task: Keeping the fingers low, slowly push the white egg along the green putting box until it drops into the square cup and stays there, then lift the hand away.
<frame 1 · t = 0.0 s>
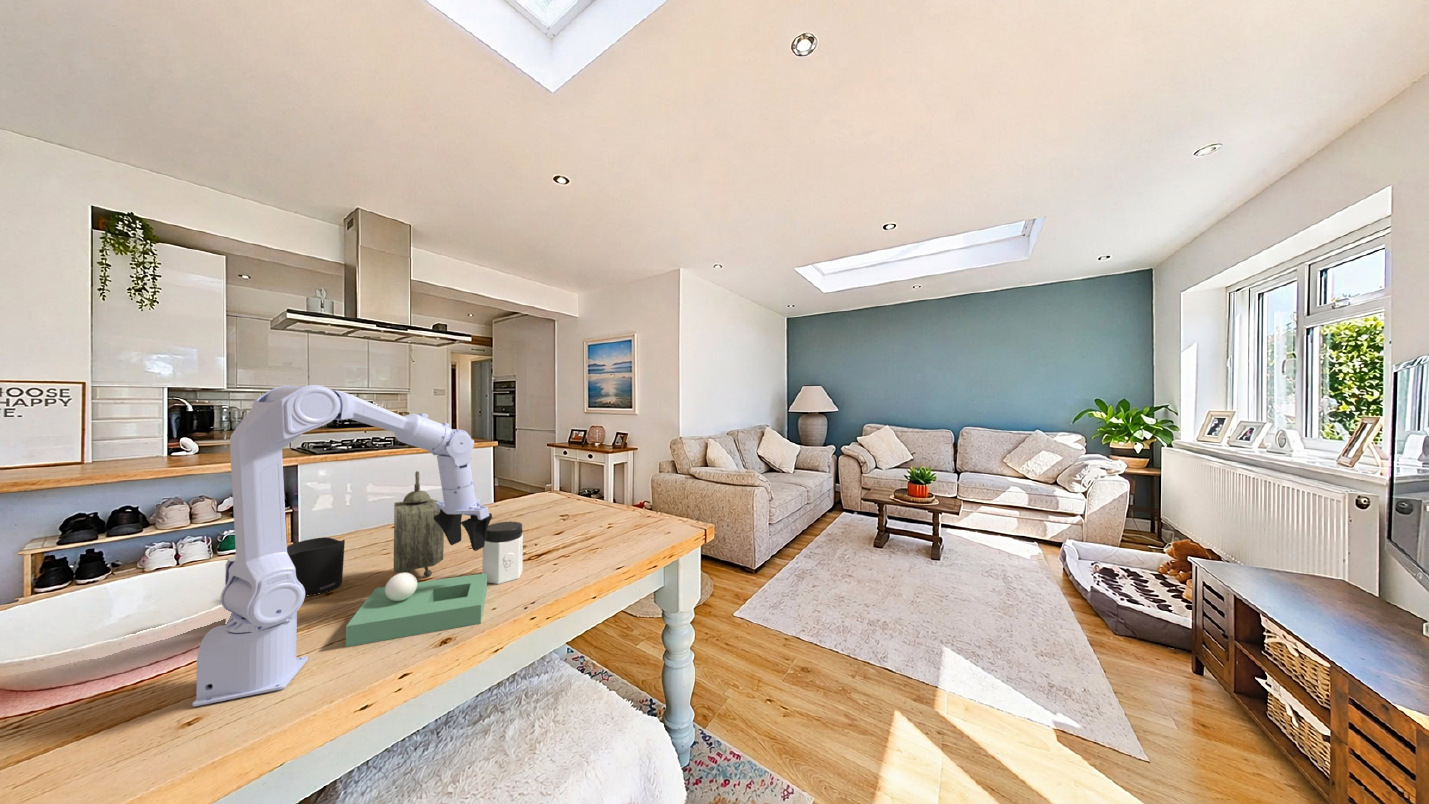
hand: (467, 545, 92), 11 cm above the table, tool pointing down, fingers open, 7 cm apart
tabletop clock: (417, 579, 100), on the table
putting box: (425, 614, 83), on the table
pen holder: (315, 590, 94), on the table
energy drink: (246, 621, 80), on the table
white egg: (401, 586, 82), point 6 cm above the table, touching putting box
jar: (502, 577, 102), on the table
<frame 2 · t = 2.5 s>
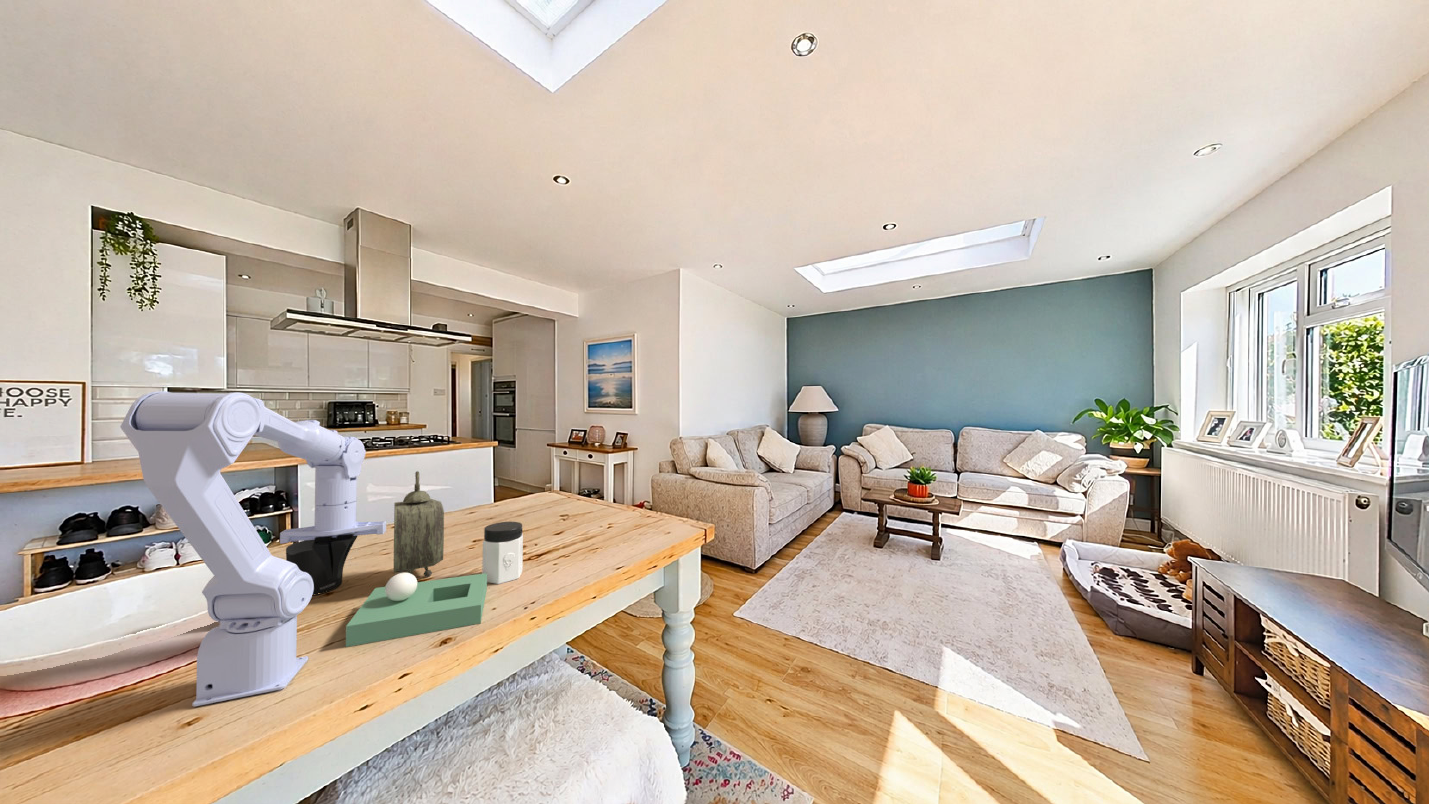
hand: (335, 577, 78), 9 cm above the table, tool pointing down, fingers closed
nothing on the table moved.
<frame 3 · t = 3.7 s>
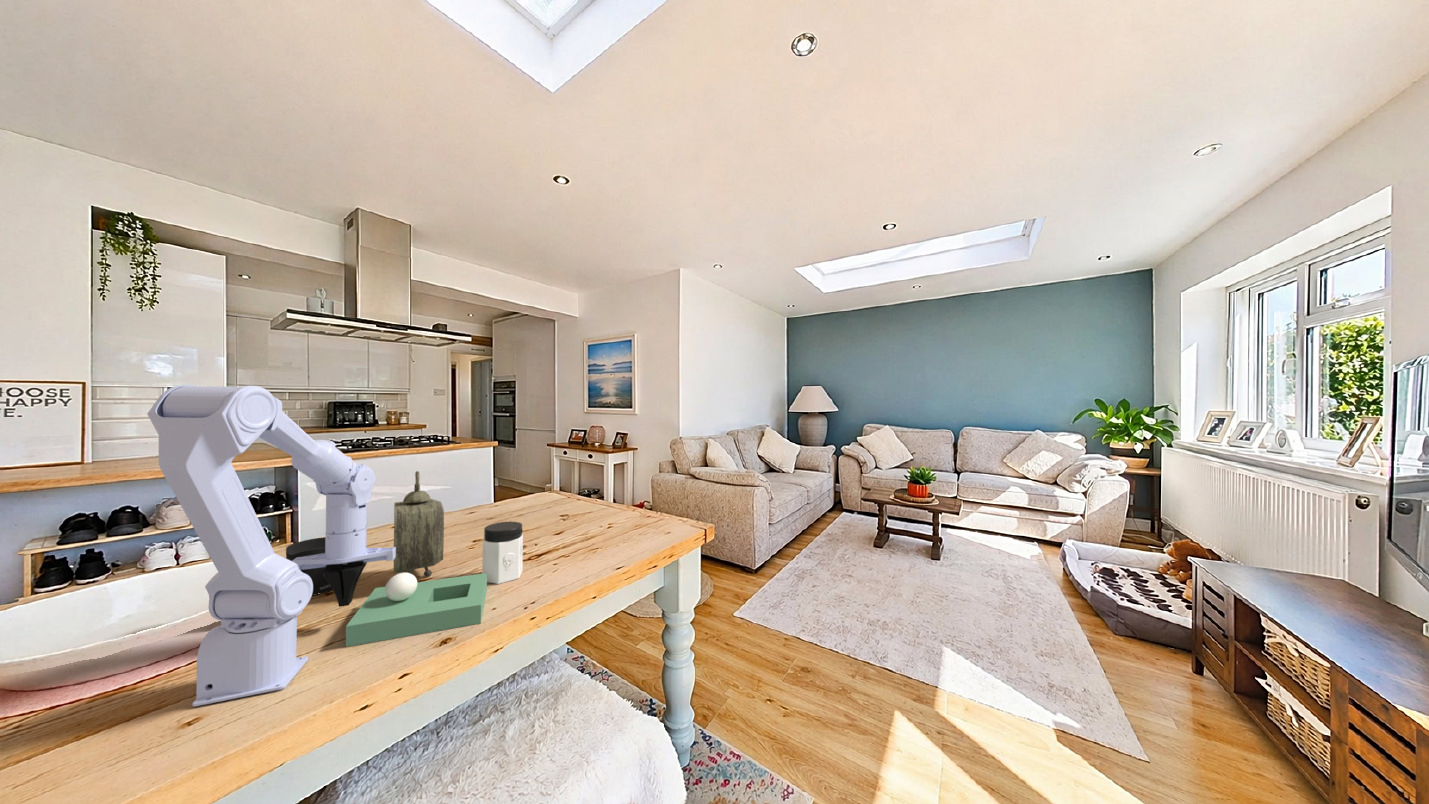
hand: (345, 604, 78), 4 cm above the table, tool pointing down, fingers closed
nothing on the table moved.
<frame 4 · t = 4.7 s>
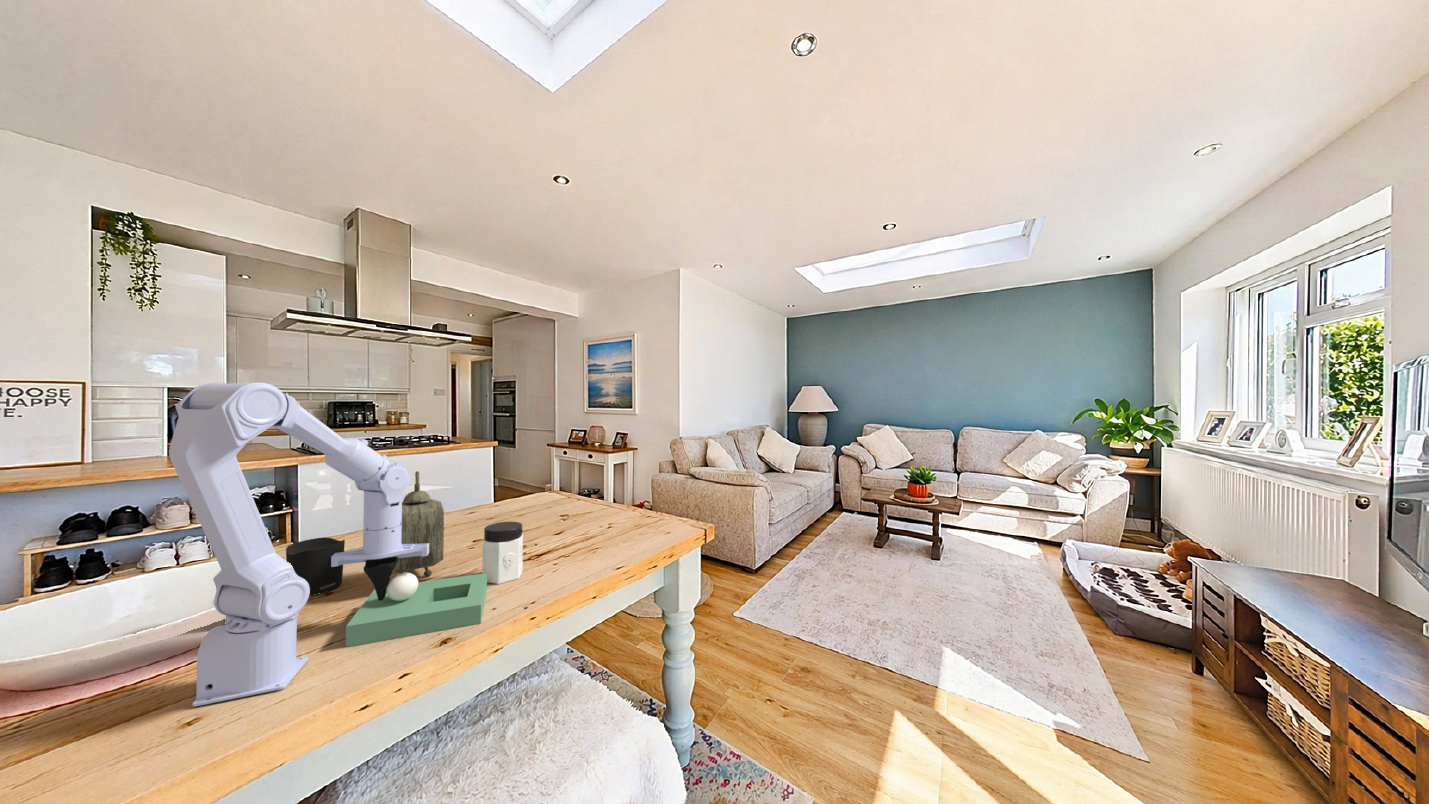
hand: (381, 598, 81), 4 cm above the table, tool pointing down, fingers closed, pressing on white egg
white egg: (402, 586, 82), point 6 cm above the table, touching gripper, putting box
everything else where it was.
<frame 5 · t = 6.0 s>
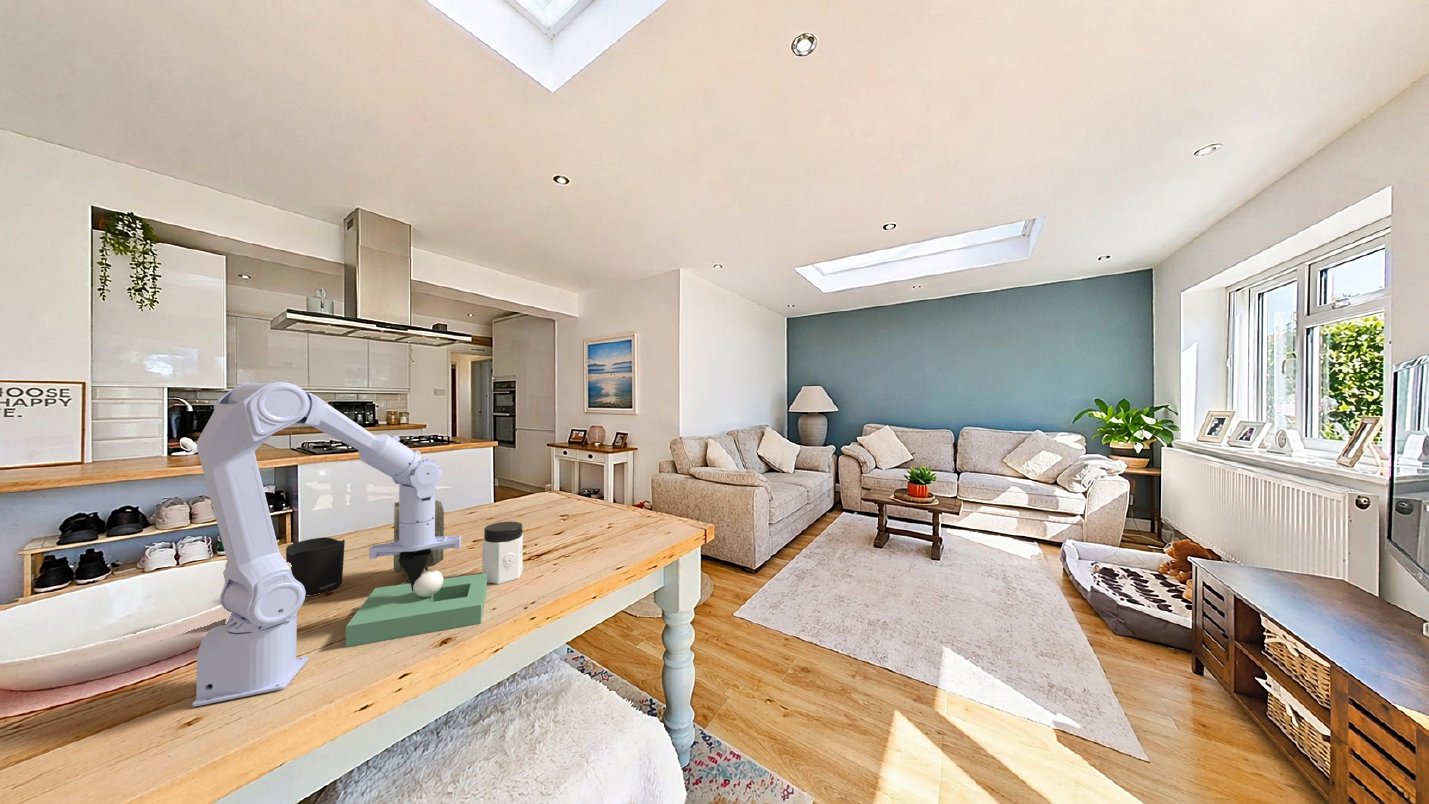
hand: (417, 588, 83), 5 cm above the table, tool pointing down, fingers closed, pressing on white egg
white egg: (428, 583, 84), point 6 cm above the table, tilted 100°, touching gripper, putting box
everything else where it was.
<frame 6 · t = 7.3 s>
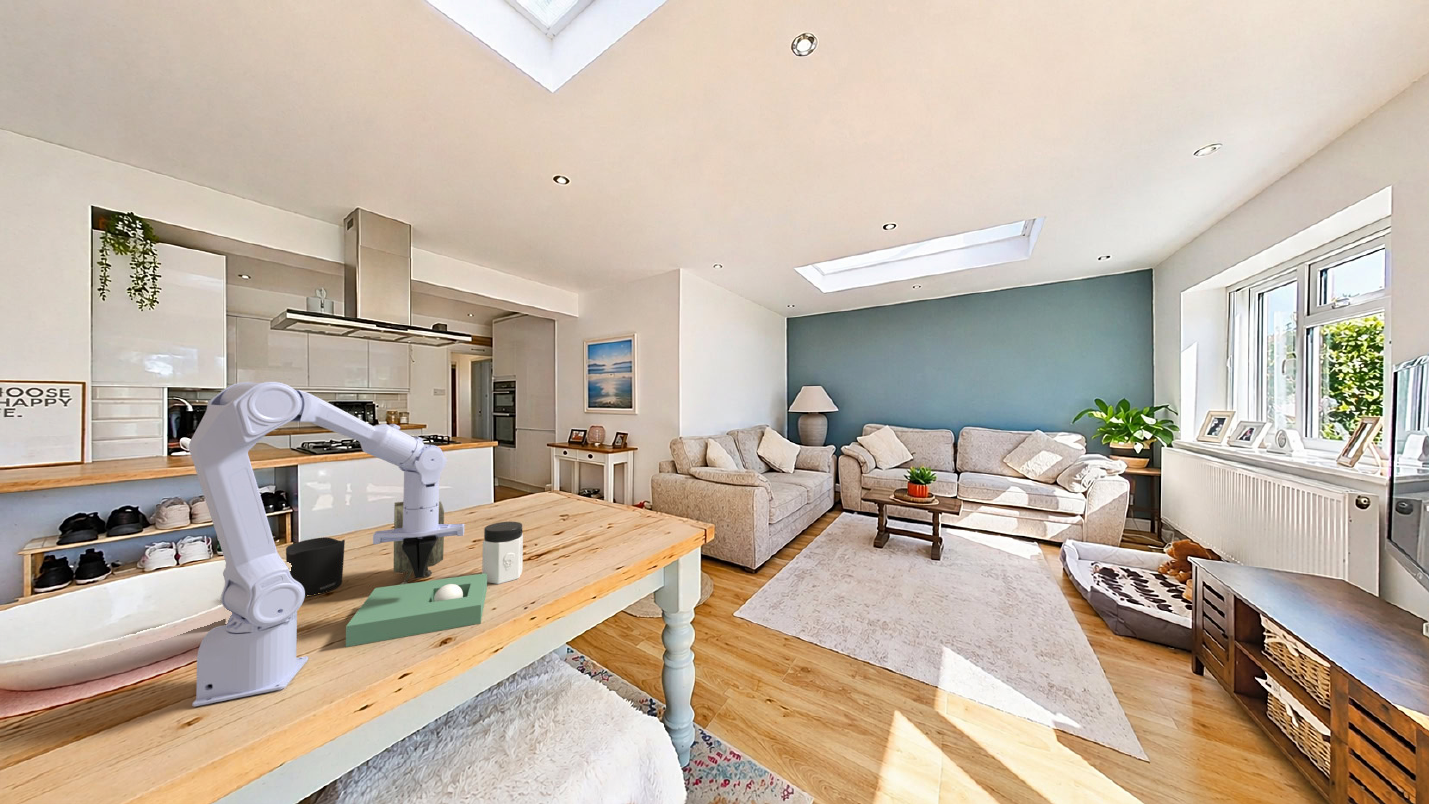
hand: (419, 576, 83), 8 cm above the table, tool pointing down, fingers closed
white egg: (448, 597, 85), point 3 cm above the table, tilted 165°, touching putting box
everything else where it was.
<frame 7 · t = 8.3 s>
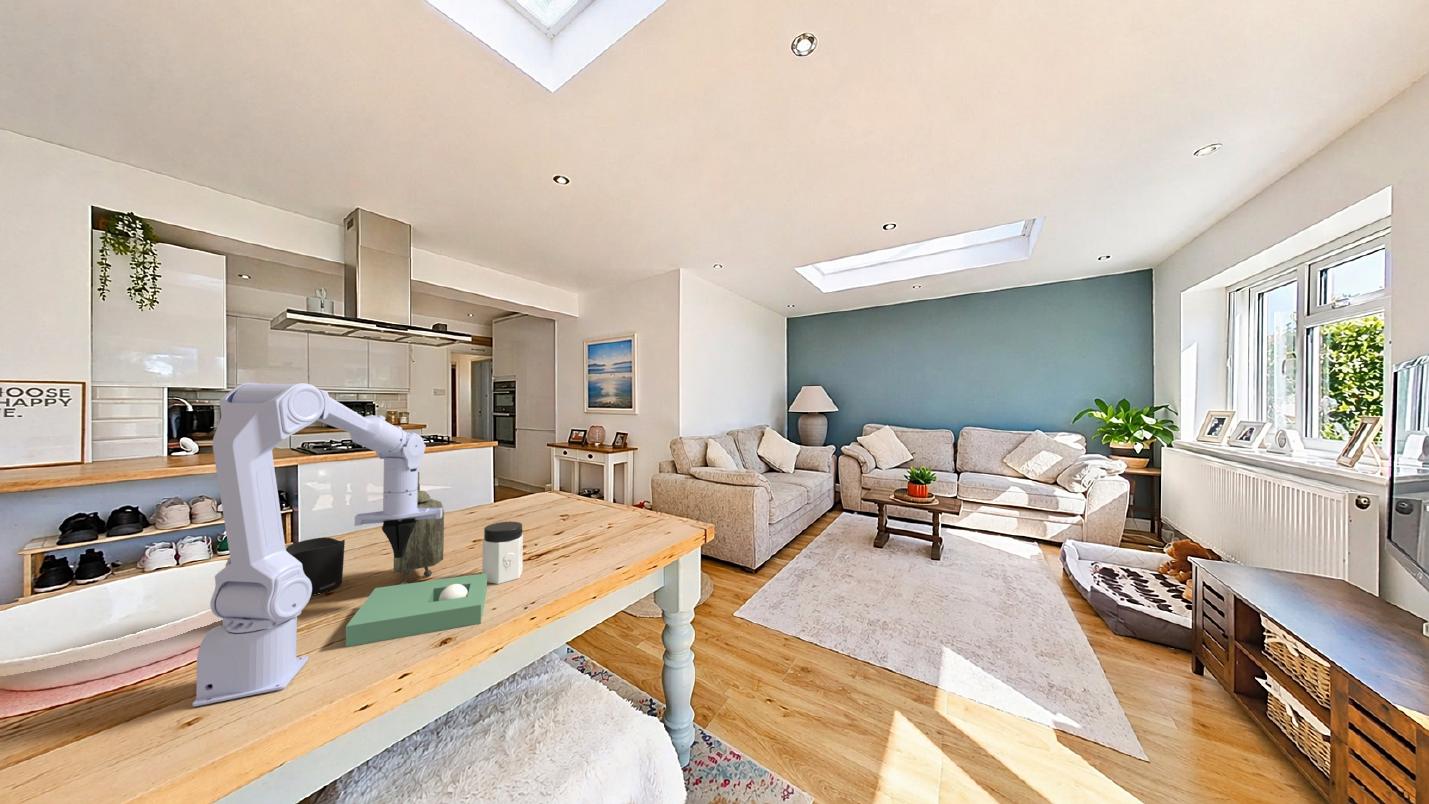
hand: (399, 556, 88), 9 cm above the table, tool pointing down, fingers closed
white egg: (453, 597, 85), point 3 cm above the table, tilted 156°, touching putting box
everything else where it was.
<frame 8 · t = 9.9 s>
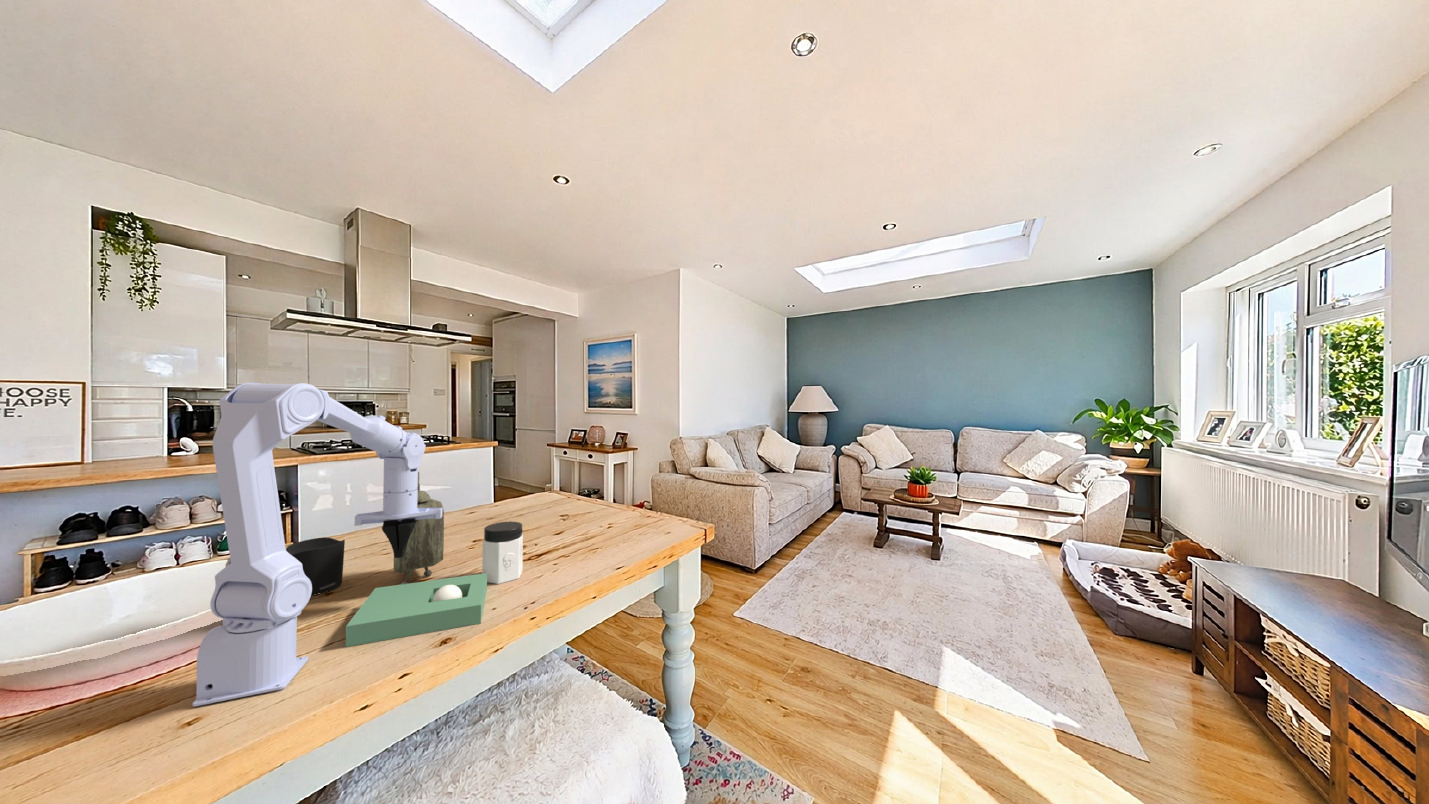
hand: (399, 556, 88), 9 cm above the table, tool pointing down, fingers closed
white egg: (447, 598, 84), point 3 cm above the table, tilted 157°, touching putting box
everything else where it was.
at the end: white egg 0.9 cm from the target spot on the putting box, point 2.7 cm above the putting box's base; white egg point 2.7 cm above the table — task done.
